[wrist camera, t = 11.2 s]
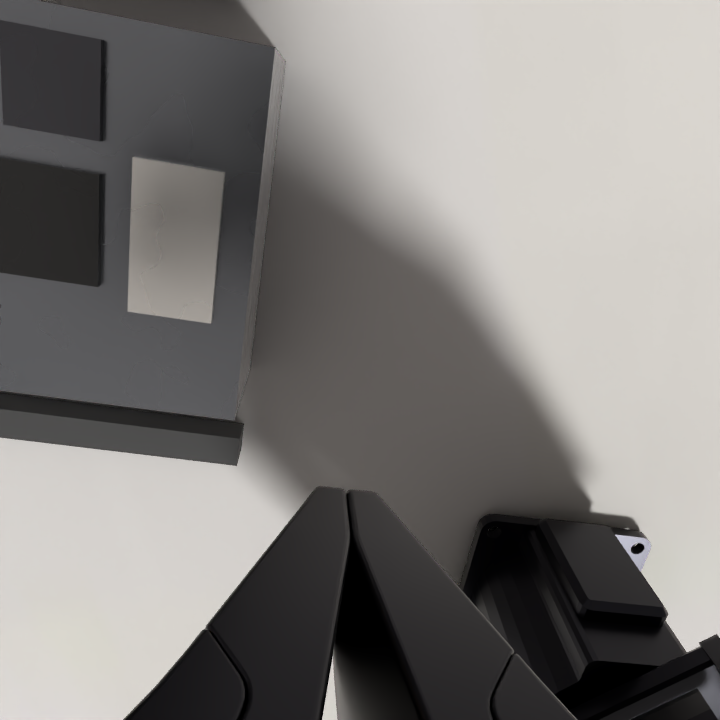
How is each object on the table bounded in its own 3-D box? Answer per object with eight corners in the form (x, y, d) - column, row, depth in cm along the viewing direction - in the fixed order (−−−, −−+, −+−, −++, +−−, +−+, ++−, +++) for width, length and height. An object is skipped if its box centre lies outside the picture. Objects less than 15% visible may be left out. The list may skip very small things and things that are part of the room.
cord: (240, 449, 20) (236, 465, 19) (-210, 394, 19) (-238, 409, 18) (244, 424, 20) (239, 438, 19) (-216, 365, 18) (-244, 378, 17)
